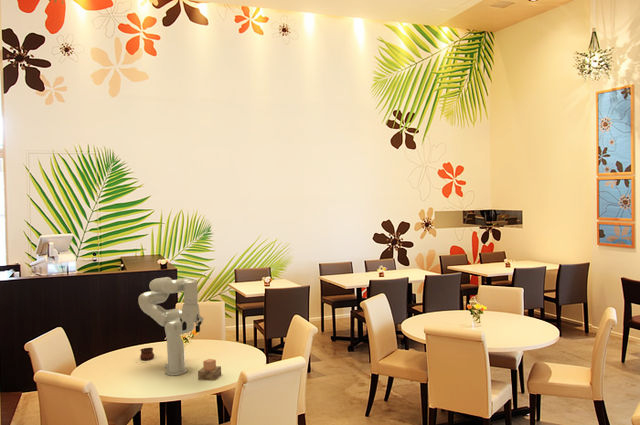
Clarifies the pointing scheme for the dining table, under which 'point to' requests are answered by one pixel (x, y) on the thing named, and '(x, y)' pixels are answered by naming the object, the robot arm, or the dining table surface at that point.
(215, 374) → the block
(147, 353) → the brown pouch
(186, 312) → the robot arm
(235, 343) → the dining table surface
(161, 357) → the dining table surface
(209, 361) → the terracotta cube
